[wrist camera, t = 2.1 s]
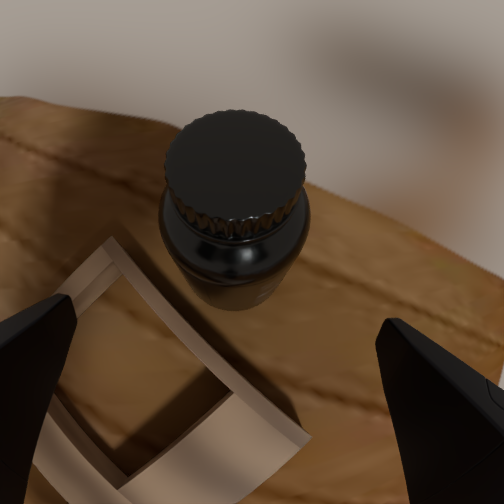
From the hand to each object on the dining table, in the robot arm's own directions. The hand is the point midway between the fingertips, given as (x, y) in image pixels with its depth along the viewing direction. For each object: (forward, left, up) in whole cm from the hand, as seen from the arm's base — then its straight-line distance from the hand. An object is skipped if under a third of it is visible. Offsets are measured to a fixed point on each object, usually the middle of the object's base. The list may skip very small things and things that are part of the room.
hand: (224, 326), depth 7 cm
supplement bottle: (+4, +3, -12) cm, 13 cm away
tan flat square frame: (-9, +1, -12) cm, 15 cm away
